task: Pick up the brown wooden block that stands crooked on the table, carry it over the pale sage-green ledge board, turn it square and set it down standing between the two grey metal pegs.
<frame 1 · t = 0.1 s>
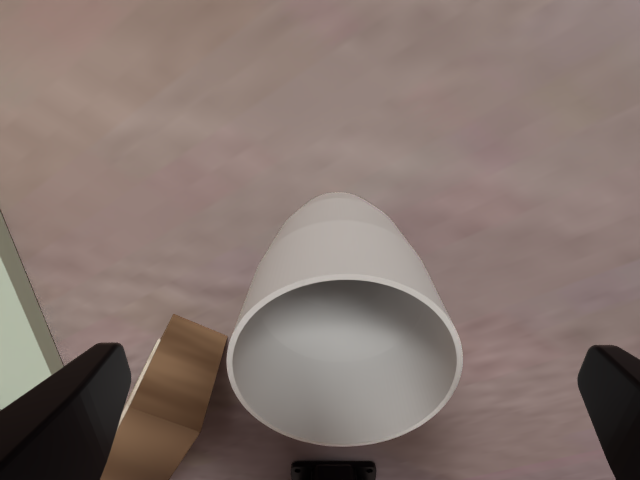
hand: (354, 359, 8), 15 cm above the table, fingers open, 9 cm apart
brown wooden block: (172, 376, 29), on the table
cup: (336, 232, 24), on the table
when the fingers open (4 cm above the table, at t = 7.2 s): brown wooden block stays where it is, resting on ledge board.
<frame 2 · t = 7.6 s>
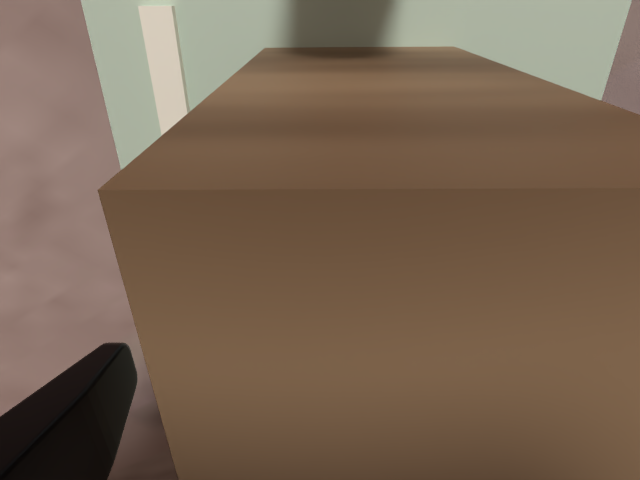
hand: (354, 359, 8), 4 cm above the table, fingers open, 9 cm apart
brown wooden block: (351, 276, 11), point 1 cm above the table, touching ledge board
ledge board: (344, 253, 12), on the table
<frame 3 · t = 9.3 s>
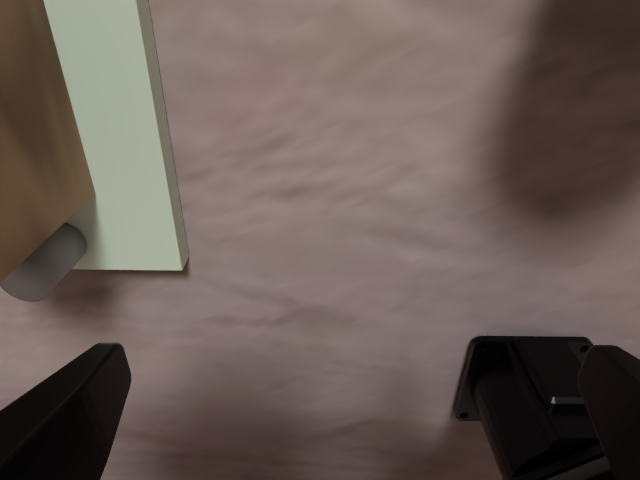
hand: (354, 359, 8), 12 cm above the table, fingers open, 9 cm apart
brown wooden block: (7, 56, 15), point 1 cm above the table, touching ledge board
ledge board: (23, 53, 16), on the table
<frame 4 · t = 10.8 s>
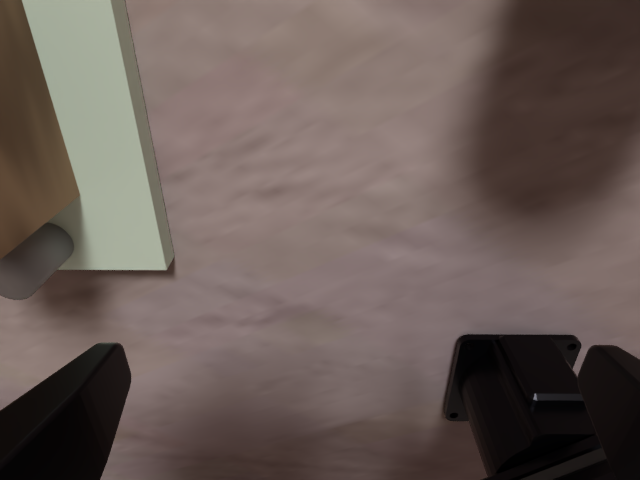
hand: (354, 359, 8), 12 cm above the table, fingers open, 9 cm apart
ledge board: (9, 61, 17), on the table
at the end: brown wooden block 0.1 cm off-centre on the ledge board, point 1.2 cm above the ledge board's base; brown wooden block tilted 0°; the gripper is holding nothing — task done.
